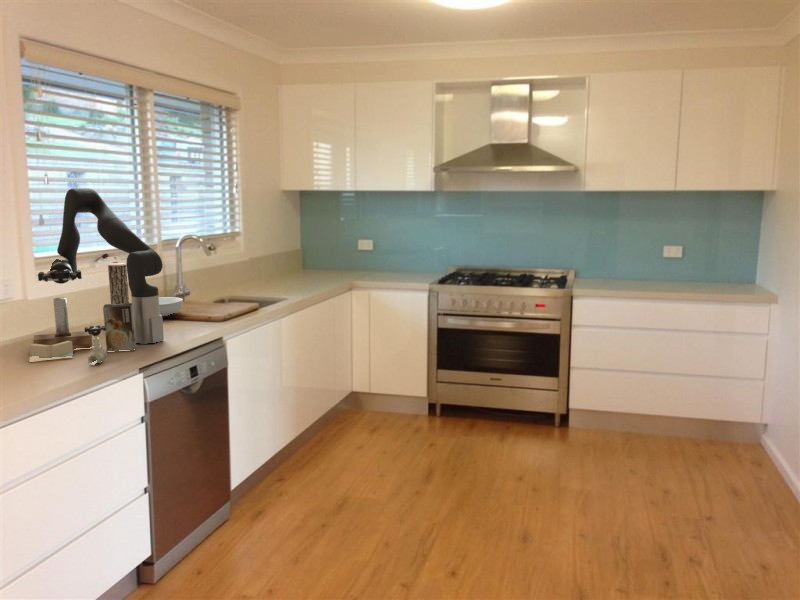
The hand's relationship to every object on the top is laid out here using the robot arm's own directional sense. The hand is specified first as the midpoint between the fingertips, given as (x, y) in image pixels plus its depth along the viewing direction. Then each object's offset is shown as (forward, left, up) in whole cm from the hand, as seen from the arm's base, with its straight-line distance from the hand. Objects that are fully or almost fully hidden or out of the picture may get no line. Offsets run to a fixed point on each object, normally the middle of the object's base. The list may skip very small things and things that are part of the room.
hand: (59, 278), depth 244 cm
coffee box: (-27, +3, -24) cm, 37 cm away
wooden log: (+2, -32, -24) cm, 40 cm away
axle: (-7, +8, -24) cm, 26 cm away
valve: (-32, +20, -24) cm, 45 cm away
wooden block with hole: (-7, +8, -24) cm, 26 cm away
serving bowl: (-1, -52, -24) cm, 57 cm away
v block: (-11, +18, -24) cm, 32 cm away
